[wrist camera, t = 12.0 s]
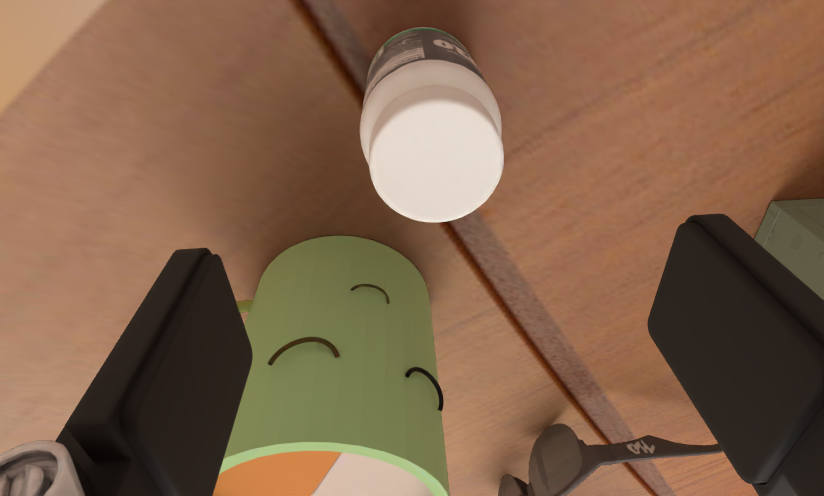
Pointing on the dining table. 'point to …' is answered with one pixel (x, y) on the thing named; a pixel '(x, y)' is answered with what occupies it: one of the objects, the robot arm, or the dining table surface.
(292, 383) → the mug
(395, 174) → the pill bottle
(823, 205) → the green storage bin
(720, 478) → the dining table surface
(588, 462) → the sunglasses
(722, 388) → the robot arm
